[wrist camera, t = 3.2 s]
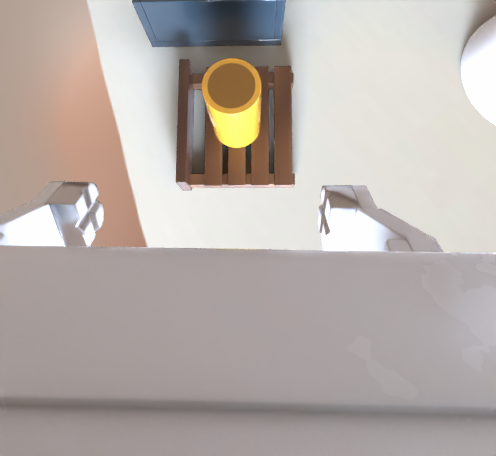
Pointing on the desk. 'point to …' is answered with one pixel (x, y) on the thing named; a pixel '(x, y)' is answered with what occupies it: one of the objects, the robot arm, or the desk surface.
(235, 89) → the cup
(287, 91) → the brown slatted wooden rack
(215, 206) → the desk surface
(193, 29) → the open rectangular storage bin
